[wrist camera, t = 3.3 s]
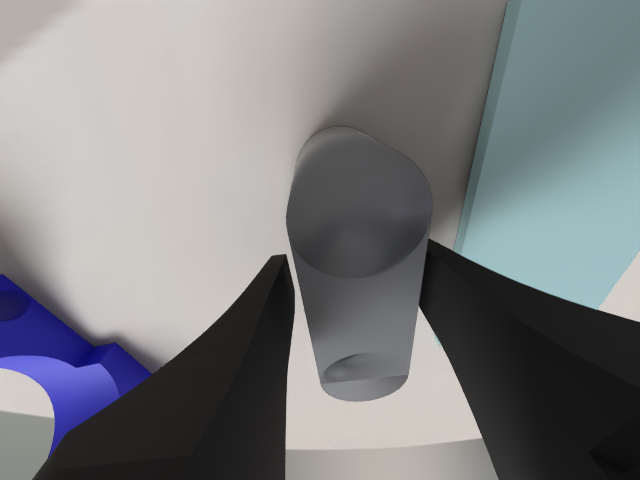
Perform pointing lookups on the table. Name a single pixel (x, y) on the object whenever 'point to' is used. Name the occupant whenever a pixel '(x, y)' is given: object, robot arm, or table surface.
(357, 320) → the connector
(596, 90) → the rubber mat
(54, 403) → the cable clip
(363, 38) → the table surface
